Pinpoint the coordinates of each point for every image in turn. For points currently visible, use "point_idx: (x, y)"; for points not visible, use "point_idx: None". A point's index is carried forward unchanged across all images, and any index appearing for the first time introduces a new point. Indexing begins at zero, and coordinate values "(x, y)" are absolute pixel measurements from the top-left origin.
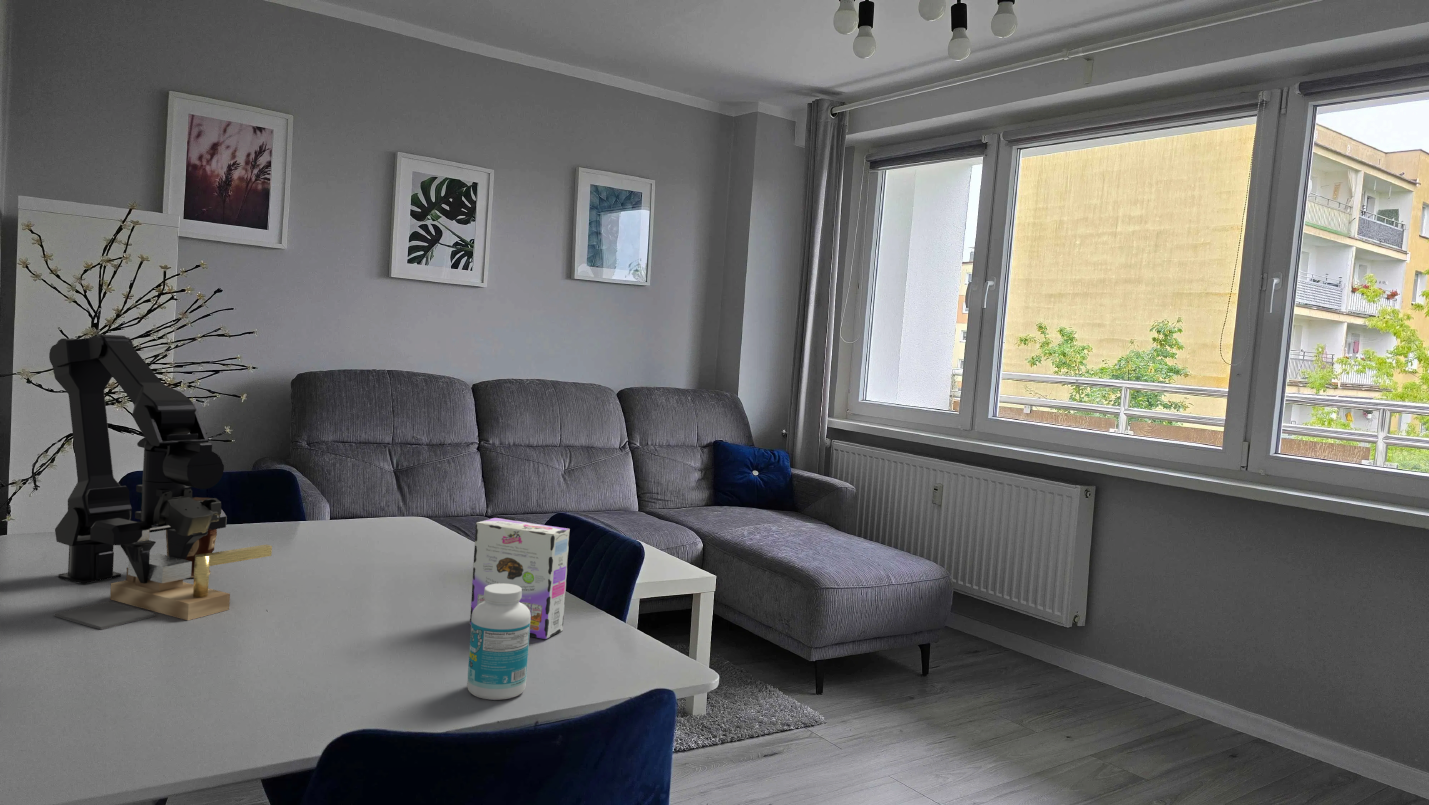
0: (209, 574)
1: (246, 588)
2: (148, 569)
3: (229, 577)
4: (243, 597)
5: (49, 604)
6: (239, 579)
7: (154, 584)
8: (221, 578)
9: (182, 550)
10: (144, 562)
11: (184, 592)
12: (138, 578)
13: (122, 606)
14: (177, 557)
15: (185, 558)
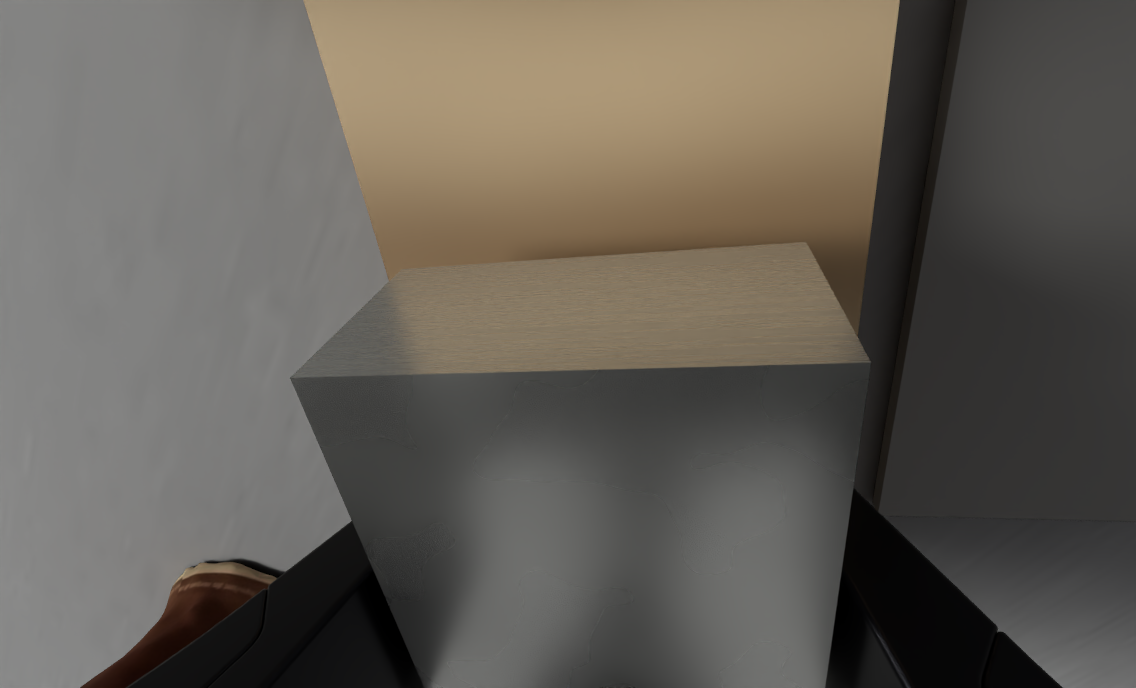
0: (186, 569)
1: (41, 242)
2: None
3: (106, 484)
4: (89, 30)
5: (1057, 673)
6: (61, 426)
7: None
8: (147, 495)
9: (284, 681)
10: (979, 654)
11: (598, 60)
12: None
13: (929, 376)
14: (379, 622)
15: (304, 565)
